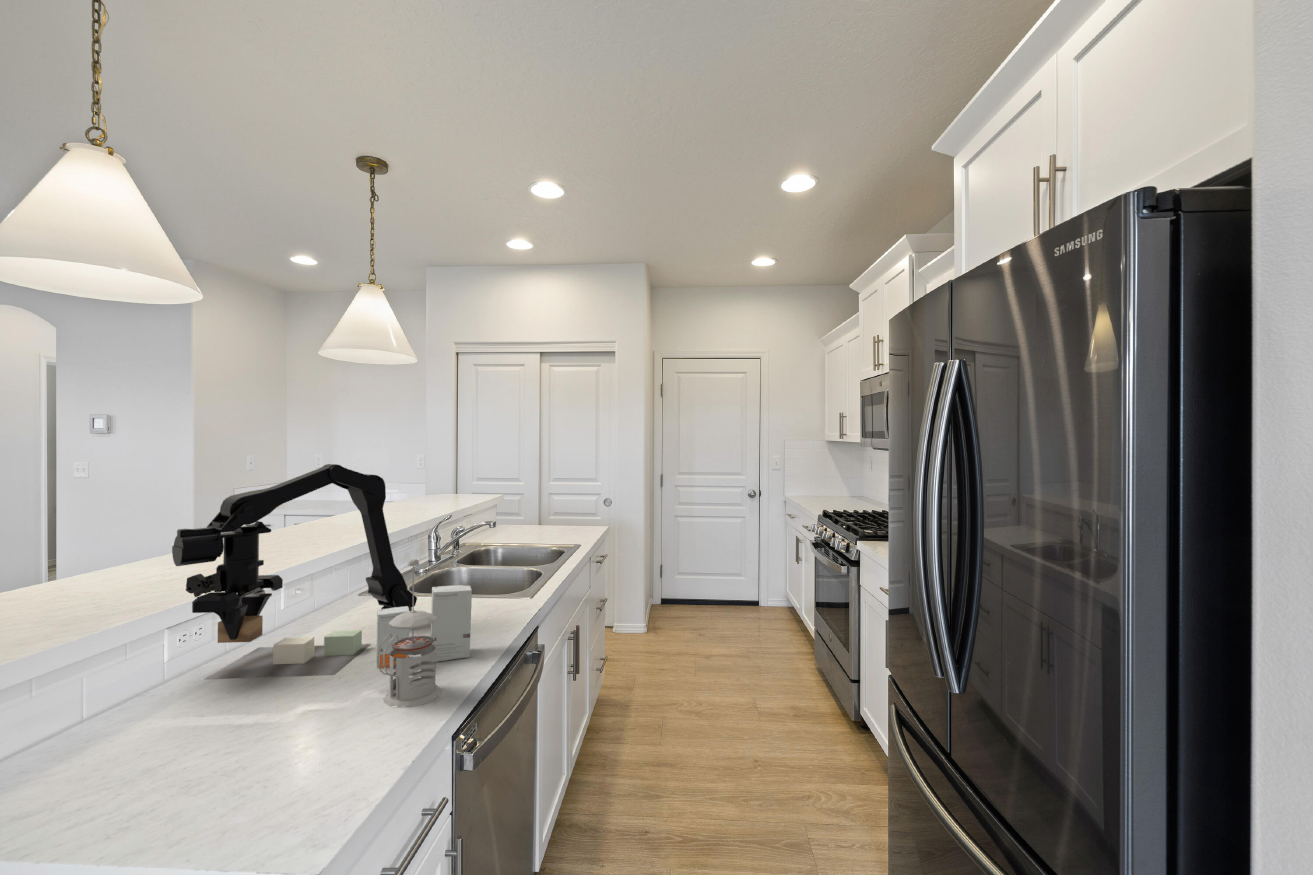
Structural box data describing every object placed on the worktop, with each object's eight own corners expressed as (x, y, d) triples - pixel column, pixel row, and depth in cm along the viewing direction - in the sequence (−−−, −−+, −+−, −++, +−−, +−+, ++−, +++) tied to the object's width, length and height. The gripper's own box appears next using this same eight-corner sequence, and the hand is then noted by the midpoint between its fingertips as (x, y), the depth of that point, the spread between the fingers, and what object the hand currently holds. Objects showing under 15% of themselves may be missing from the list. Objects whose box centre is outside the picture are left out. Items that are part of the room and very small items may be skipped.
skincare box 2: (430, 663, 118) (430, 592, 118) (429, 653, 123) (430, 586, 124) (472, 657, 121) (472, 588, 121) (469, 648, 127) (469, 582, 127)
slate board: (371, 649, 126) (371, 643, 126) (334, 680, 109) (334, 674, 109) (258, 652, 124) (258, 647, 124) (203, 685, 107) (203, 679, 107)
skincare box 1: (376, 674, 112) (376, 614, 112) (376, 667, 116) (376, 609, 116) (409, 669, 115) (409, 610, 115) (408, 661, 119) (408, 605, 119)
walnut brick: (262, 635, 114) (262, 615, 114) (249, 641, 110) (250, 621, 110) (231, 635, 114) (231, 616, 114) (217, 642, 110) (217, 622, 110)
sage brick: (361, 648, 124) (361, 629, 124) (353, 654, 120) (353, 635, 120) (333, 648, 123) (333, 630, 123) (324, 655, 119) (324, 636, 119)
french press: (452, 690, 105) (453, 556, 105) (398, 716, 95) (399, 568, 95) (417, 679, 110) (417, 552, 110) (361, 703, 99) (362, 563, 100)
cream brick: (314, 655, 119) (314, 637, 119) (304, 663, 115) (304, 643, 115) (284, 656, 118) (284, 638, 118) (273, 664, 114) (273, 644, 114)
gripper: (230, 549, 121) (229, 622, 121) (161, 568, 102) (160, 654, 102) (284, 548, 122) (283, 620, 122) (225, 567, 103) (224, 652, 103)
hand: (240, 635), depth 112 cm, fingers closed on walnut brick, 4 cm apart
